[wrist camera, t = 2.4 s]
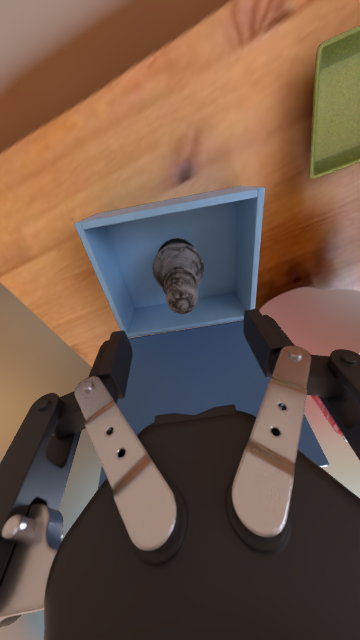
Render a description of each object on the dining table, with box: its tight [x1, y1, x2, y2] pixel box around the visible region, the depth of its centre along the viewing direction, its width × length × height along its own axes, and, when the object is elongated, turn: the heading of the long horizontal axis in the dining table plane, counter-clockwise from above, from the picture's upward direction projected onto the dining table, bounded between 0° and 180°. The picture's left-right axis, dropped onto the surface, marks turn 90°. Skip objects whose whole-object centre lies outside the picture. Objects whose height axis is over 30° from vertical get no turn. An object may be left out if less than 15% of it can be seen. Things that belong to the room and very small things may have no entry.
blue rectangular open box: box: [74, 186, 265, 338], centre depth 22 cm, size 13×16×7 cm
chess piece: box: [152, 238, 204, 314], centre depth 20 cm, size 6×6×12 cm
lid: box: [98, 320, 329, 489], centre depth 18 cm, size 14×16×1 cm
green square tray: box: [309, 26, 360, 179], centre depth 17 cm, size 9×9×2 cm
